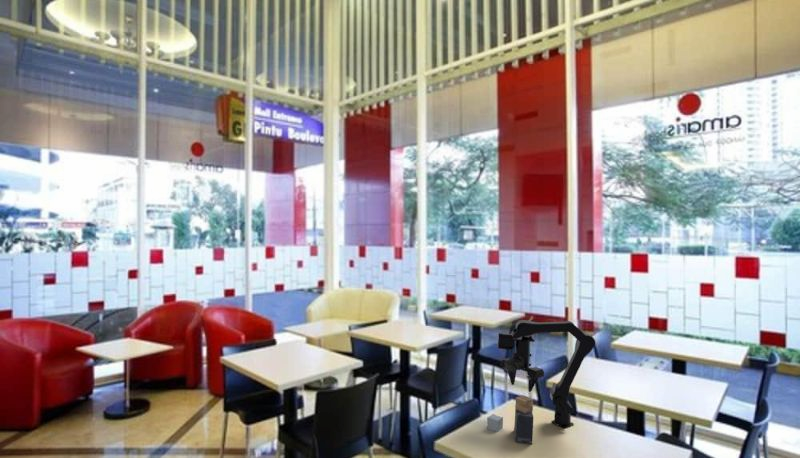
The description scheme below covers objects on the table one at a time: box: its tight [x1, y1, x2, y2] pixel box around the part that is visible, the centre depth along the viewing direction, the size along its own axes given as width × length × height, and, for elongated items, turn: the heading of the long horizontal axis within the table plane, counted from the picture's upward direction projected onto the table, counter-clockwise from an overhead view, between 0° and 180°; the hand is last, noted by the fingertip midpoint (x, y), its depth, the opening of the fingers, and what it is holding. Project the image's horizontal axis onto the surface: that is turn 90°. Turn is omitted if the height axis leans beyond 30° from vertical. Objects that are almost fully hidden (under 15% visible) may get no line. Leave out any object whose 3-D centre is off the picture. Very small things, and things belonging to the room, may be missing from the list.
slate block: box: [486, 413, 504, 433], centre depth 176 cm, size 4×4×4 cm
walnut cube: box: [515, 394, 534, 413], centre depth 170 cm, size 4×4×4 cm
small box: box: [513, 404, 534, 445], centre depth 170 cm, size 11×6×10 cm, turn 168°
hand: (521, 388), depth 186 cm, fingers open, 9 cm apart
